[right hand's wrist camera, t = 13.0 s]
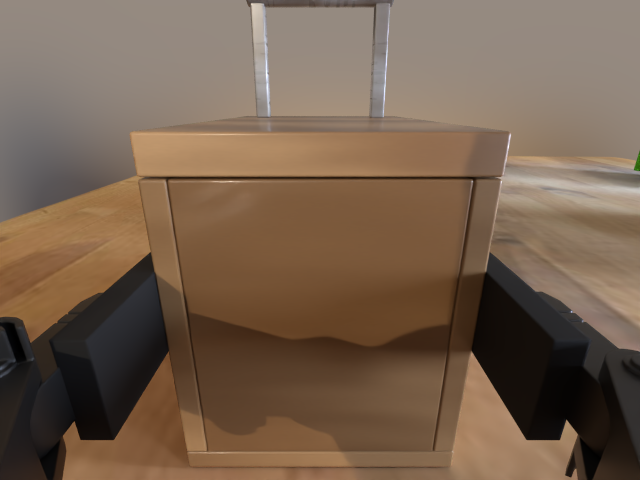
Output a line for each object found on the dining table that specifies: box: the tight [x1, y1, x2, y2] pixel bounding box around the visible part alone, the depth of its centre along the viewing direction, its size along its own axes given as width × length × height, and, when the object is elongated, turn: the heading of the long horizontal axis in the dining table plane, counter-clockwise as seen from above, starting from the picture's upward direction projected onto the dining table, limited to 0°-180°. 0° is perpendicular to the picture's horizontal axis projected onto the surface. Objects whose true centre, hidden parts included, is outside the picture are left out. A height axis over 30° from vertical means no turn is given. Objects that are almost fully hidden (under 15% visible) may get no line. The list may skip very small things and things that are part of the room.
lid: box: [130, 0, 511, 177], centre depth 15 cm, size 15×9×8 cm, turn 0°
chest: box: [138, 177, 502, 467], centre depth 18 cm, size 14×9×10 cm, turn 0°
